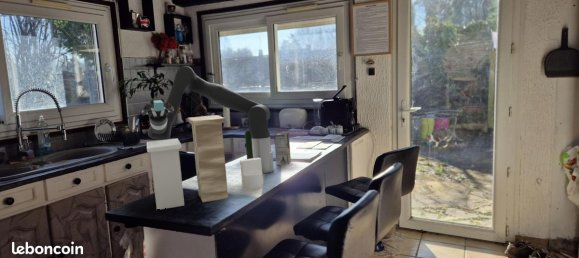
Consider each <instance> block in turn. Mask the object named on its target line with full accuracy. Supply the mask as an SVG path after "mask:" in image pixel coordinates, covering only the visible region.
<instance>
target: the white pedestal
mask: <svg viewBox="0 0 579 258" xmlns="http://www.w3.org/2000/svg"><path fill="white" fill-rule="evenodd" d="M182 148H183V147H182V143H181V142H180V140H179V138H170V139H168V140H159V141H158V140H151V141H146V151H147V153H149V154H150V162H151V170H152V171H151V172H152V178H153V186H154V187H153V188H154V189H153V190H154V197H155V204H156V210H157V209H160V210H164V209H165V208H166V209H171V208H178V207H182V206H185V199H184V190H183V180H182V171H181V159H180V153H179V150H180V149H182Z"/></svg>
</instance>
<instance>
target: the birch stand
mask: <svg viewBox="0 0 579 258" xmlns="http://www.w3.org/2000/svg"><path fill="white" fill-rule="evenodd" d="M187 121H188V123H189V124H191V129H192V138H193V139H192V140H193V149H194V159H195V160H194V161H195V169H196V170H195V171H196V180H197V190H198V196H199V198H200V199H201V202H202V203H206V202H207V203H208V202H212V201H219V200H225V199H229V192H228V191H229V190H228V179H227V172H226V171H227V170H226V169H227V168H226V158H225V147H224V146H225V145H224V135H223V125H222V124H223V123H226V117H224V116H223V117H222V116H221V115H217V114H216V115H213V114H212V115H205V116H195V117H193V116H192V117H187Z"/></svg>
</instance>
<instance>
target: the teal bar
mask: <svg viewBox="0 0 579 258" xmlns="http://www.w3.org/2000/svg"><path fill="white" fill-rule="evenodd" d="M154 109H155V111H164V104H163V102H162V101H161V99H159V100H154Z"/></svg>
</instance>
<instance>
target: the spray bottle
mask: <svg viewBox="0 0 579 258" xmlns="http://www.w3.org/2000/svg"><path fill="white" fill-rule="evenodd" d="M246 125H247V127H248V129H246V130H245V131H244V137H245V139H244V140H245V149H246V151H245V152H246V159H252V158H253V149H252V137H251V133H250V129H249V120H248V117H247V119H246Z"/></svg>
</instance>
